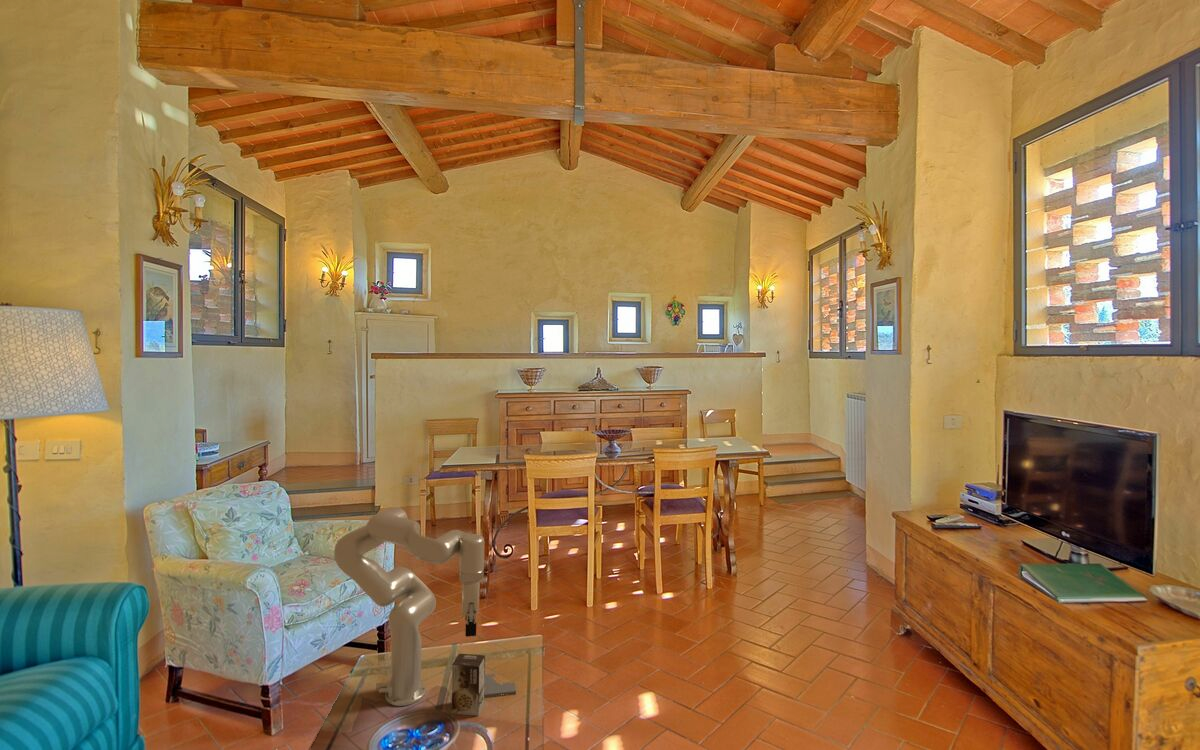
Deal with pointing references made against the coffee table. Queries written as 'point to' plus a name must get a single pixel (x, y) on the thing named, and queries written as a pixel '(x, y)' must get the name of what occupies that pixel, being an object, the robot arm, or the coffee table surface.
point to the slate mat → (497, 687)
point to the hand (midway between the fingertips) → (470, 627)
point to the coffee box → (468, 684)
